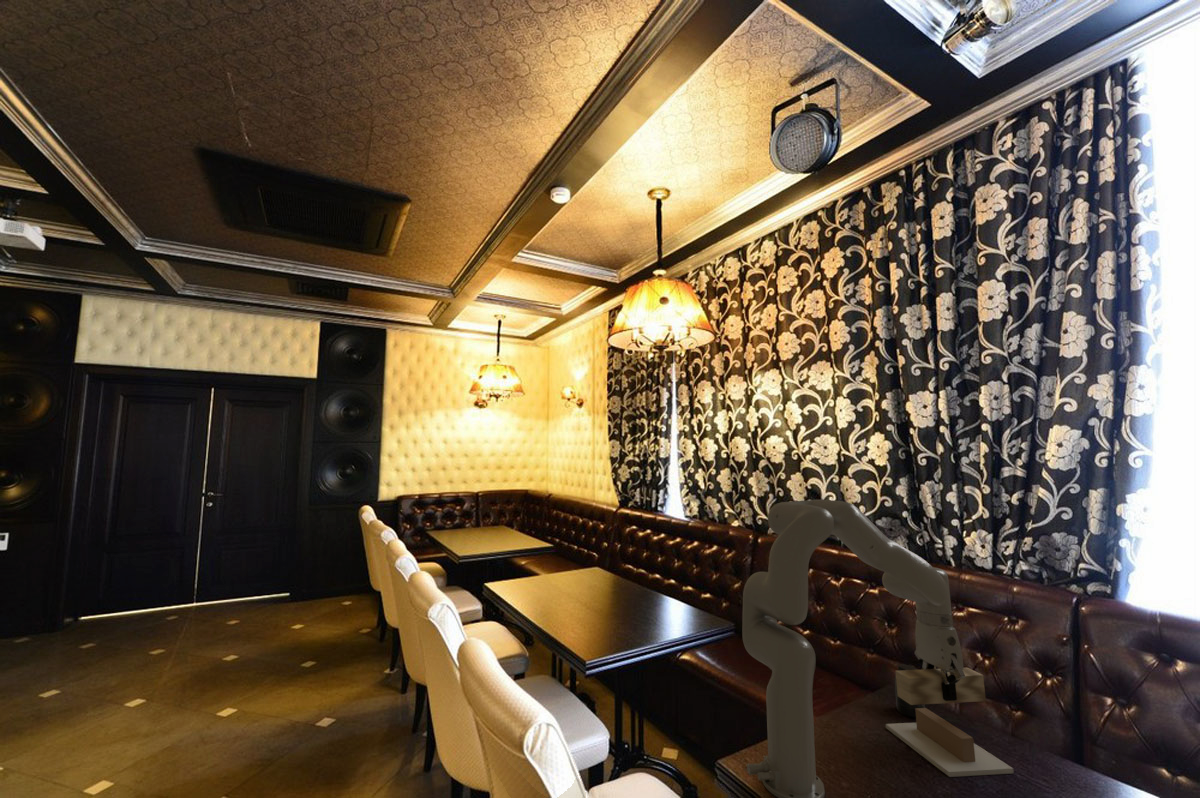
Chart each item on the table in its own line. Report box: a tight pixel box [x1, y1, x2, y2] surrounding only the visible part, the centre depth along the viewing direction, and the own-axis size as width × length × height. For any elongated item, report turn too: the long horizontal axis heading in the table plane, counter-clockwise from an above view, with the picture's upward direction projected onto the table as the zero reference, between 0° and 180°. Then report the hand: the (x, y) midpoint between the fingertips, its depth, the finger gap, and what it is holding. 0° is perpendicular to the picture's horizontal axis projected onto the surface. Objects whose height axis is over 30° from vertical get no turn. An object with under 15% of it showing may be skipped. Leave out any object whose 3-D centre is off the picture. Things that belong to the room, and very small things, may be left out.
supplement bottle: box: [894, 663, 926, 719], centre depth 134 cm, size 7×7×12 cm
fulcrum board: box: [885, 707, 1015, 778], centre depth 116 cm, size 16×20×6 cm
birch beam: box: [895, 667, 987, 705], centre depth 118 cm, size 20×4×6 cm, turn 96°
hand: (941, 694), depth 117 cm, fingers closed on birch beam, 4 cm apart
